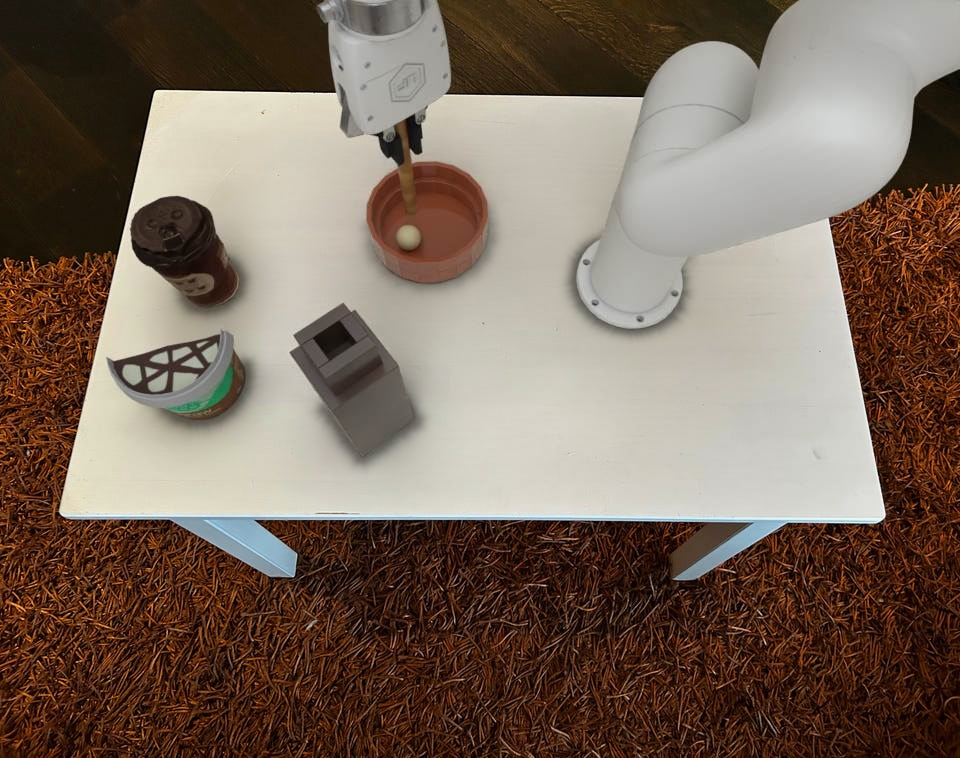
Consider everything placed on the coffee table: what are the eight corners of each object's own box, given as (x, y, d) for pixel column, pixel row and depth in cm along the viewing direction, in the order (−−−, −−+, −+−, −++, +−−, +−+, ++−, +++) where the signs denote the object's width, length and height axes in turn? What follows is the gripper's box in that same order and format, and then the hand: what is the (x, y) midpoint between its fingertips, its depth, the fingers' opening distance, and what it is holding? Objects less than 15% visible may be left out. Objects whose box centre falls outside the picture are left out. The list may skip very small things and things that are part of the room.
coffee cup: (233, 324, 76) (187, 266, 64) (166, 311, 77) (107, 252, 65) (257, 261, 79) (217, 194, 67) (192, 249, 80) (141, 181, 68)
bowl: (442, 169, 84) (440, 142, 80) (510, 243, 80) (512, 220, 76) (350, 225, 81) (342, 200, 76) (416, 306, 77) (413, 285, 72)
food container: (154, 443, 71) (105, 415, 62) (148, 392, 73) (100, 358, 64) (266, 413, 72) (235, 381, 63) (257, 364, 74) (226, 326, 65)
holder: (379, 373, 74) (346, 287, 55) (415, 420, 72) (393, 347, 53) (327, 409, 72) (275, 332, 54) (362, 457, 71) (321, 396, 52)
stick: (413, 202, 79) (398, 102, 64) (420, 211, 78) (407, 112, 63) (402, 208, 78) (385, 109, 63) (409, 217, 78) (394, 120, 63)
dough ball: (412, 229, 80) (410, 215, 77) (426, 246, 79) (425, 232, 77) (392, 242, 80) (389, 228, 77) (406, 259, 79) (404, 245, 76)
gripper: (319, 65, 49) (360, 212, 66) (486, -24, 52) (483, 138, 69) (267, 6, 51) (320, 164, 68) (431, -76, 54) (442, 94, 71)
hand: (402, 150), depth 68 cm, fingers closed on stick, 1 cm apart
